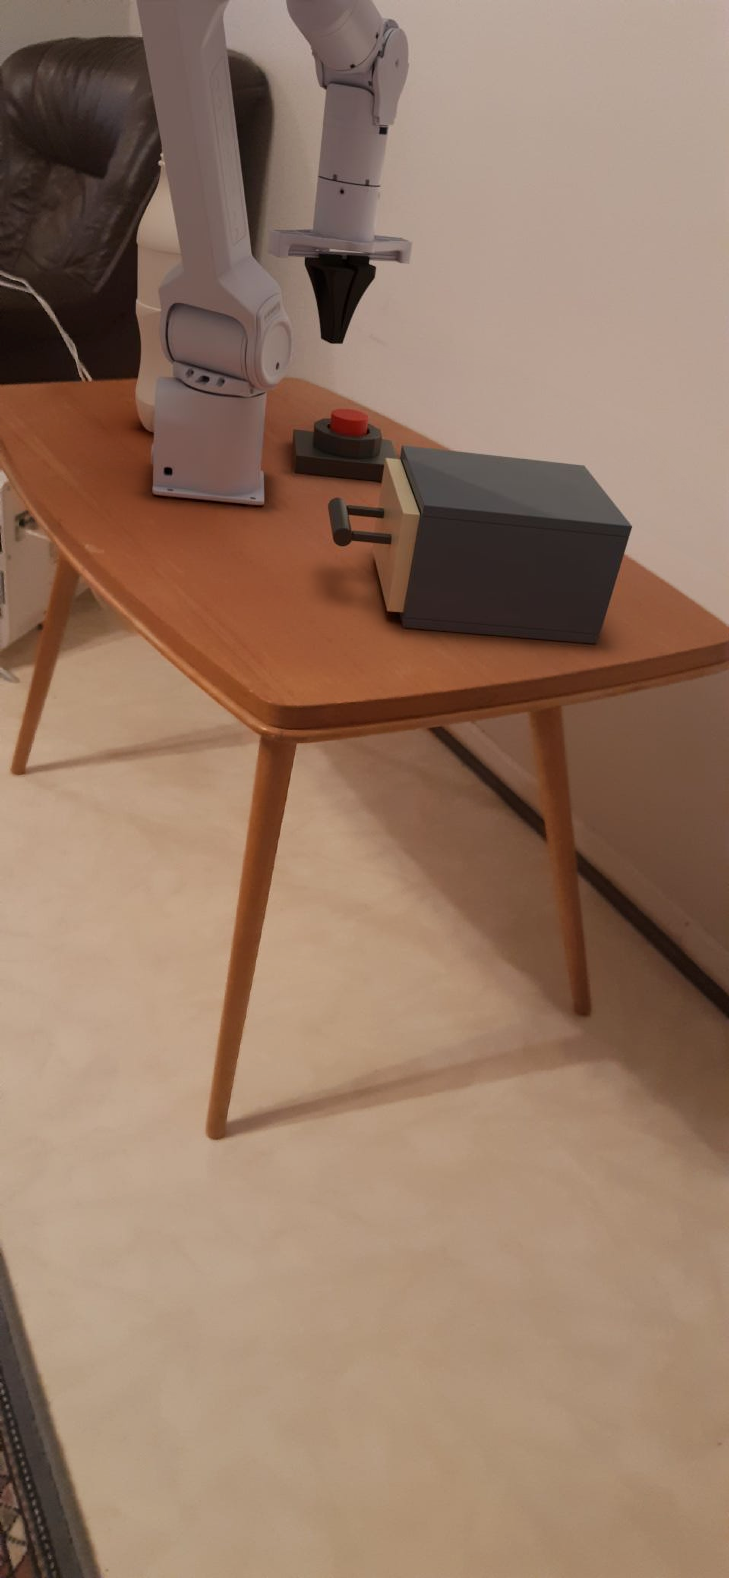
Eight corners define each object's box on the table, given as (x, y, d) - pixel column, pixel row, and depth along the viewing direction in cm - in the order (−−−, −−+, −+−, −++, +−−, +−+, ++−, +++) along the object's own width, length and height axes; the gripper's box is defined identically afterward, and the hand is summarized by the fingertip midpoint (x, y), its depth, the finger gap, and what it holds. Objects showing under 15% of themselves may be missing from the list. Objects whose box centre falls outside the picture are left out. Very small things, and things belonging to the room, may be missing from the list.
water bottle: (176, 446, 98) (185, 141, 84) (119, 426, 101) (119, 127, 87) (222, 433, 104) (238, 144, 89) (168, 414, 106) (175, 131, 92)
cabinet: (402, 628, 73) (424, 504, 68) (384, 556, 83) (401, 445, 78) (597, 644, 75) (632, 526, 70) (556, 573, 85) (584, 465, 80)
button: (330, 436, 97) (332, 418, 96) (328, 425, 100) (330, 407, 99) (367, 440, 98) (370, 422, 97) (364, 429, 101) (366, 411, 100)
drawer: (328, 606, 72) (341, 506, 68) (319, 543, 81) (330, 451, 77) (568, 627, 75) (594, 532, 71) (533, 563, 84) (555, 476, 80)
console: (294, 472, 97) (298, 435, 95) (291, 446, 103) (295, 410, 101) (398, 483, 98) (404, 447, 96) (389, 456, 105) (394, 422, 103)
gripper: (302, 181, 86) (287, 352, 93) (439, 194, 93) (415, 352, 101) (262, 168, 90) (251, 332, 98) (396, 181, 98) (375, 333, 105)
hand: (331, 341), depth 100 cm, fingers closed
